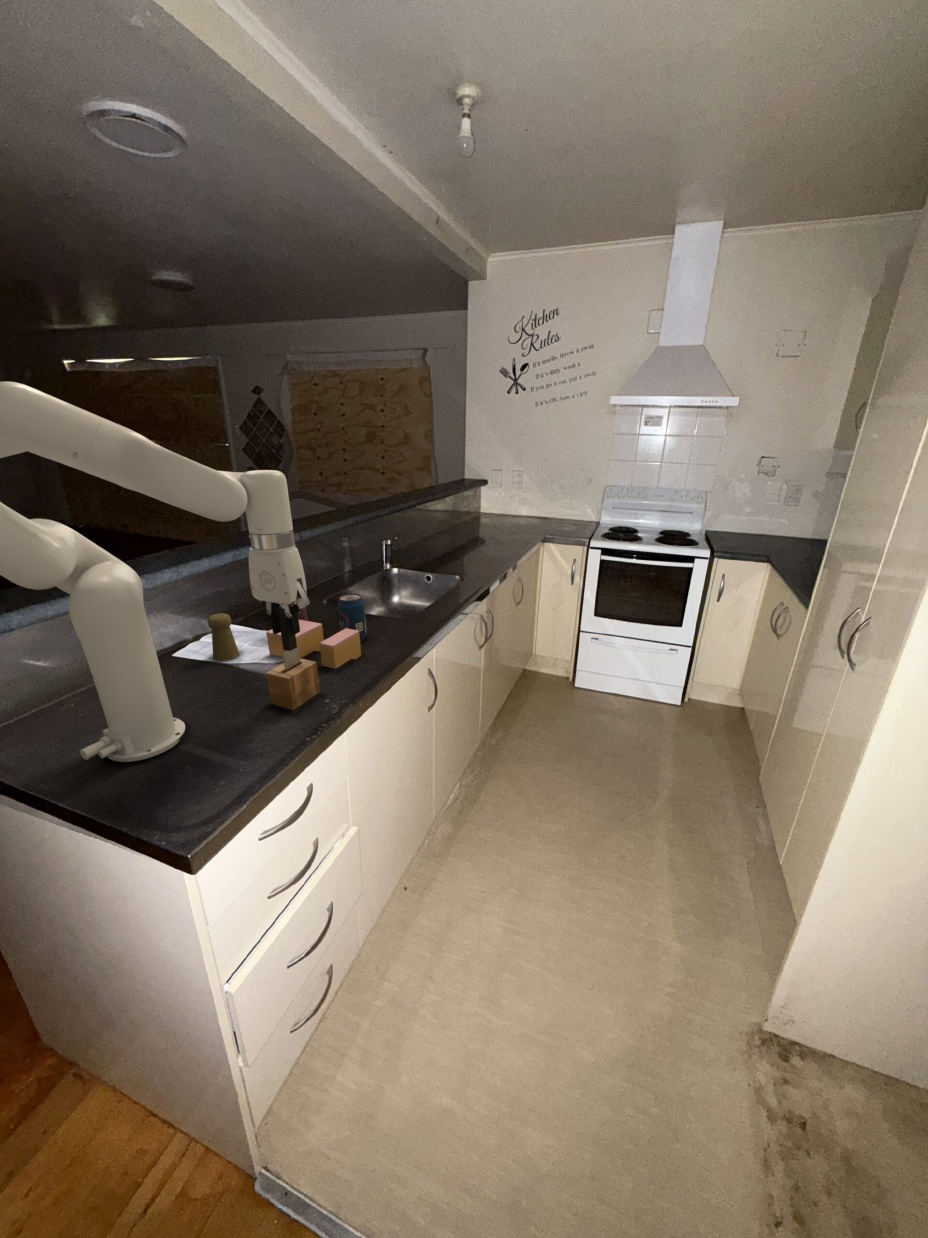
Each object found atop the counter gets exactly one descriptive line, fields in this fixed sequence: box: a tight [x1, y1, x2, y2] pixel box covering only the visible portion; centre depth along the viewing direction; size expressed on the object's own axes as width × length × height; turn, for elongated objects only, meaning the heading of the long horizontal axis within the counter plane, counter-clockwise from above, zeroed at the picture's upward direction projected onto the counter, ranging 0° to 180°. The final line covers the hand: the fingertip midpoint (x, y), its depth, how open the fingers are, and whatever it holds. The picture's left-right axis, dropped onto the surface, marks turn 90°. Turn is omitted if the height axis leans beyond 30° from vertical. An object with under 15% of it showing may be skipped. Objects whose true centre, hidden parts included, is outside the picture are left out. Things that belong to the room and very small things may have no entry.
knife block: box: [265, 658, 321, 711], centre depth 100 cm, size 8×6×8 cm
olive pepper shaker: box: [207, 612, 240, 662], centre depth 120 cm, size 6×6×11 cm
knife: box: [277, 605, 300, 672], centre depth 97 cm, size 4×2×20 cm, turn 155°
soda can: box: [337, 593, 368, 643], centre depth 129 cm, size 7×7×12 cm
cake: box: [265, 620, 325, 659], centre depth 122 cm, size 10×9×7 cm
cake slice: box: [319, 628, 362, 670], centre depth 117 cm, size 10×4×7 cm, turn 156°
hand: (286, 632), depth 95 cm, fingers closed
